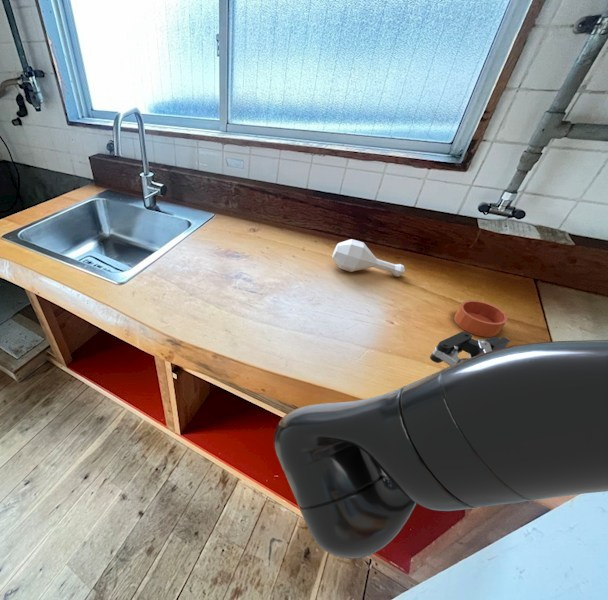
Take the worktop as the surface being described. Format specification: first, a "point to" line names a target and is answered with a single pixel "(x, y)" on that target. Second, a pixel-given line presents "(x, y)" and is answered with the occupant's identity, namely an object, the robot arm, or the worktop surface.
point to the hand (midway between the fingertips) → (542, 367)
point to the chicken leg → (361, 258)
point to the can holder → (480, 318)
